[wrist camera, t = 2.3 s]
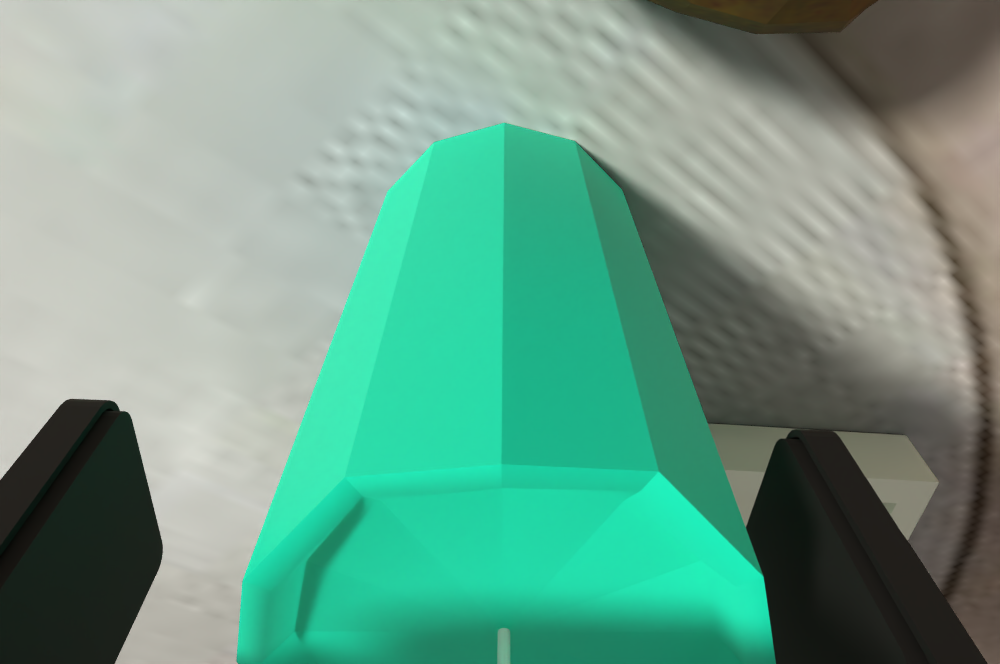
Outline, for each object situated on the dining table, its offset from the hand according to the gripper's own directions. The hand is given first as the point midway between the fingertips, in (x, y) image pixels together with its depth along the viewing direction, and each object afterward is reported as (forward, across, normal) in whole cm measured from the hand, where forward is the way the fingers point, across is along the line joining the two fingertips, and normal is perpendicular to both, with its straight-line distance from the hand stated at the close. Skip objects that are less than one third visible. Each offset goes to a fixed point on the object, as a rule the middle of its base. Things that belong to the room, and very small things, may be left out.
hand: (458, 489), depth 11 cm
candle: (+8, -1, 0) cm, 8 cm away
